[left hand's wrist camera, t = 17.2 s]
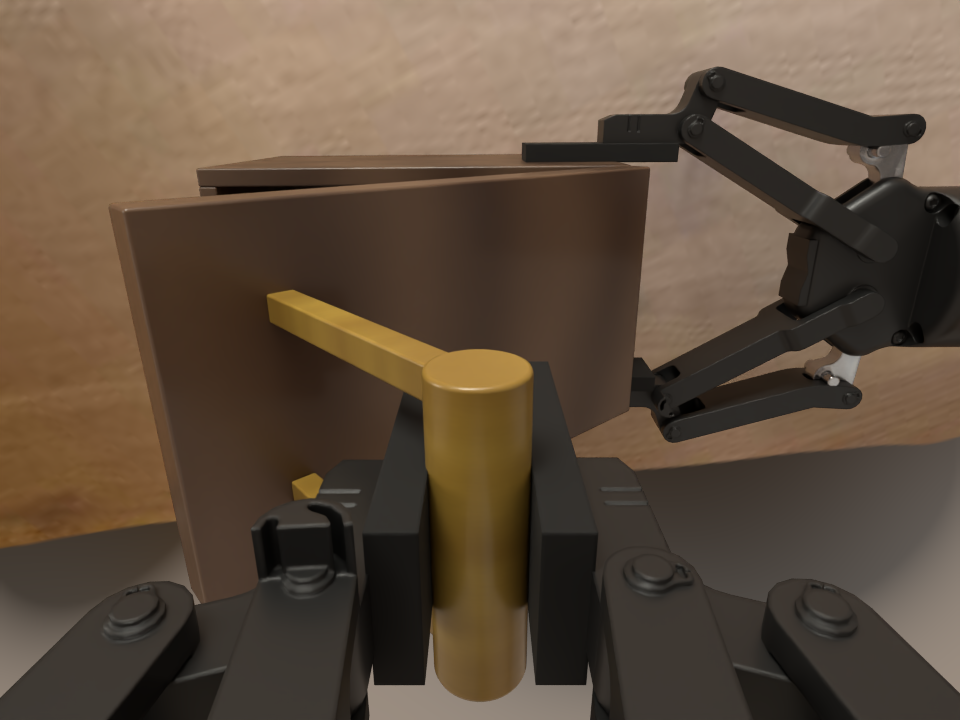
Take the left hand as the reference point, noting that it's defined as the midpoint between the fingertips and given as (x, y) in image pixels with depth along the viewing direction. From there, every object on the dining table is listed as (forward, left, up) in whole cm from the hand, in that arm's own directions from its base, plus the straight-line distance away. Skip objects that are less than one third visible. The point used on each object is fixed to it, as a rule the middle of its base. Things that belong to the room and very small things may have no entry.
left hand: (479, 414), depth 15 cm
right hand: (+2, 0, -16) cm, 16 cm away
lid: (-1, 0, -6) cm, 6 cm away
